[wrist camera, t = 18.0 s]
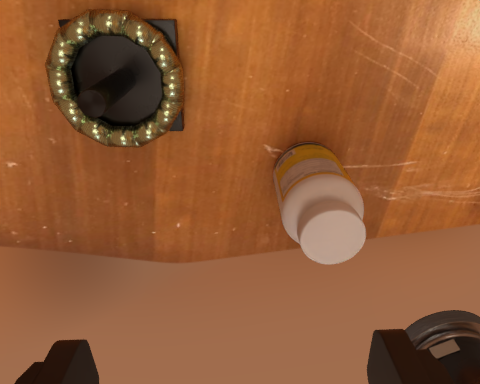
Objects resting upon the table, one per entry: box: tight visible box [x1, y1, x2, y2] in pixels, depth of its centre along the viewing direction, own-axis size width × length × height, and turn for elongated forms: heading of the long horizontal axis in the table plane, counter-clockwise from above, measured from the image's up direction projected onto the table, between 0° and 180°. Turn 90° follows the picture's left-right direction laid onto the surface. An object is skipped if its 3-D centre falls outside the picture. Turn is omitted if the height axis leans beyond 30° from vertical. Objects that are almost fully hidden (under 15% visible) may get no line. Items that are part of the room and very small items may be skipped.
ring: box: [45, 9, 184, 147], centre depth 30 cm, size 11×11×2 cm
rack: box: [58, 19, 184, 131], centre depth 27 cm, size 9×9×9 cm
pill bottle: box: [273, 142, 366, 264], centre depth 31 cm, size 6×6×12 cm
